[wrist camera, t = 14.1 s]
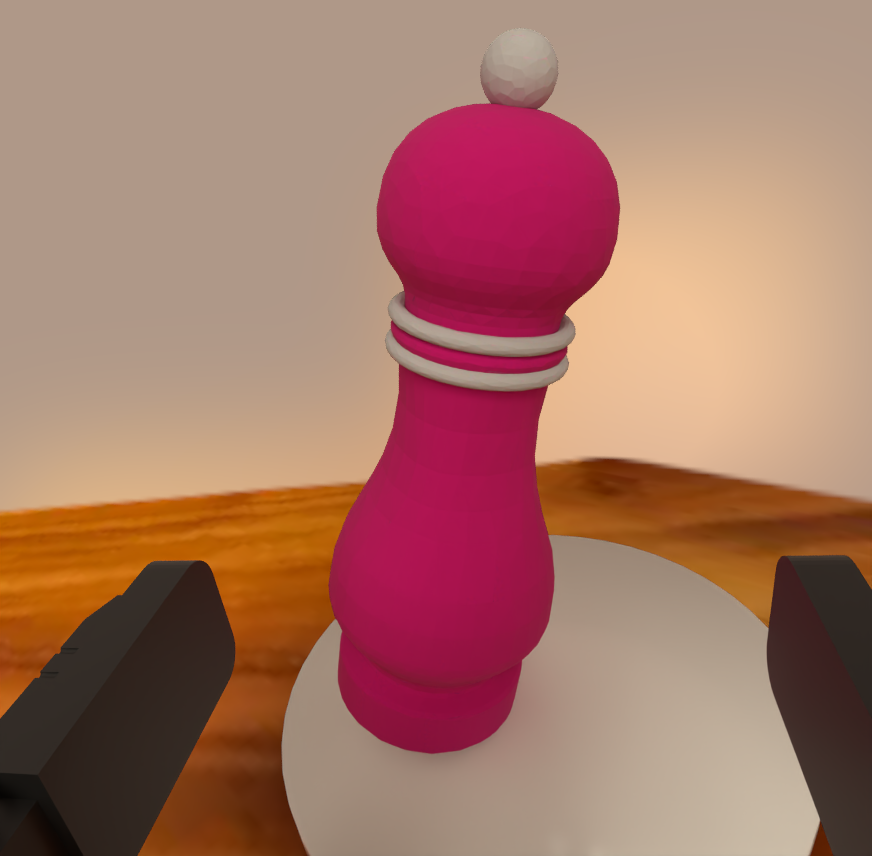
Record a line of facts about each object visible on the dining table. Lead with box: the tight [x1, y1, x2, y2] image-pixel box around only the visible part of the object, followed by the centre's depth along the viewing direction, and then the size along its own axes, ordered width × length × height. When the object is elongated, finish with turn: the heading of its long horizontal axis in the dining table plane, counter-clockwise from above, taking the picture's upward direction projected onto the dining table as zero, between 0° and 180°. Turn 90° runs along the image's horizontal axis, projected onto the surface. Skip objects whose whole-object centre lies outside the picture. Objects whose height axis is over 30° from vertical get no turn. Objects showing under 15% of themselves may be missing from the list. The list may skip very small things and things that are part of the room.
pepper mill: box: [329, 28, 620, 754], centre depth 20 cm, size 7×7×20 cm
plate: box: [282, 535, 820, 856], centre depth 24 cm, size 18×18×2 cm
